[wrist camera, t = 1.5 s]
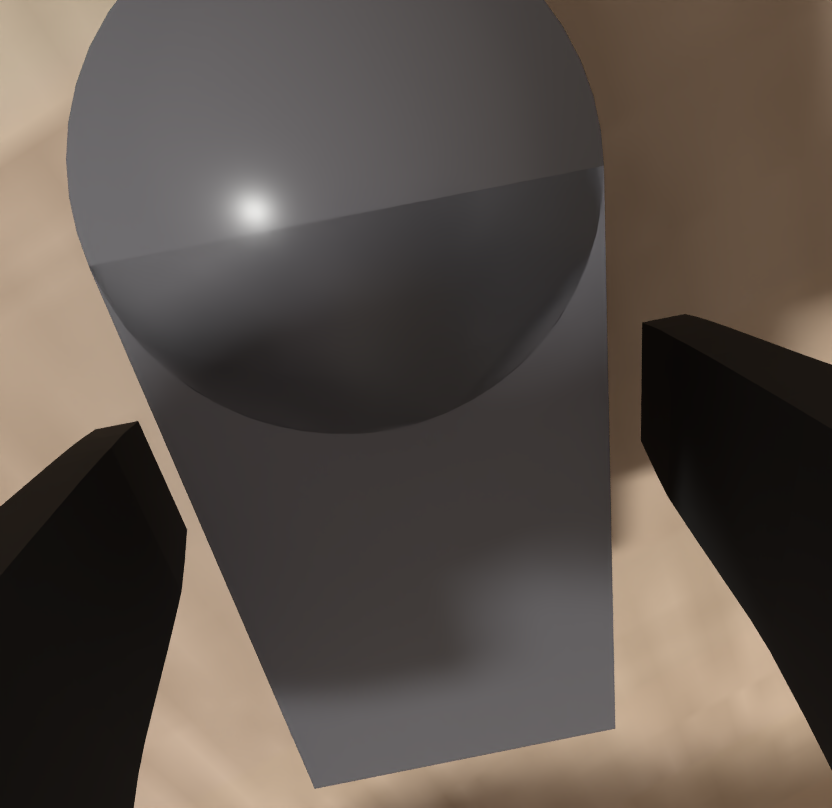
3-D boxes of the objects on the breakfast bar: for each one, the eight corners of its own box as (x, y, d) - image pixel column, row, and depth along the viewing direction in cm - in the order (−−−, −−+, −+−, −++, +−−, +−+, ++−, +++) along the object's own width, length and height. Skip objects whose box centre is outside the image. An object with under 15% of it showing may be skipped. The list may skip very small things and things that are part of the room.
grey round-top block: (537, 575, 15) (616, 803, 11) (339, 614, 15) (344, 857, 11) (470, -99, 9) (597, -164, 5) (130, -34, 9) (-44, -41, 5)
